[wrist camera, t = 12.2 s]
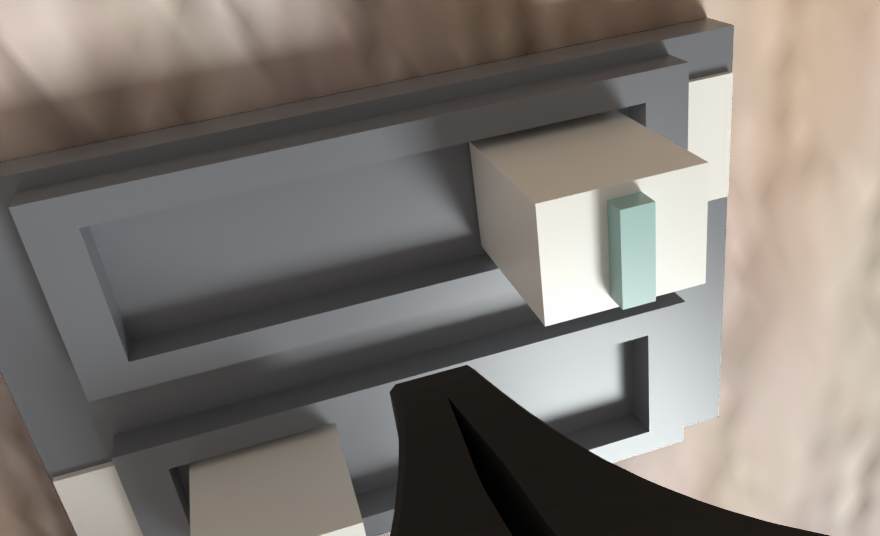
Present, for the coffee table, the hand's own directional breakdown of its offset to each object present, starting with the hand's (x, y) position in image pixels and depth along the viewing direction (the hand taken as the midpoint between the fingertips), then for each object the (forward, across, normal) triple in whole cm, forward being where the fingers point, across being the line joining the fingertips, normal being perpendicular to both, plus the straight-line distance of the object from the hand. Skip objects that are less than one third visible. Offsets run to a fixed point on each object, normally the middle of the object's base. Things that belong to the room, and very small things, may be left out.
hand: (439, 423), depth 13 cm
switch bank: (+10, -1, +4) cm, 11 cm away
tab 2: (+9, -5, 0) cm, 10 cm away
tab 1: (+9, +3, +7) cm, 12 cm away
